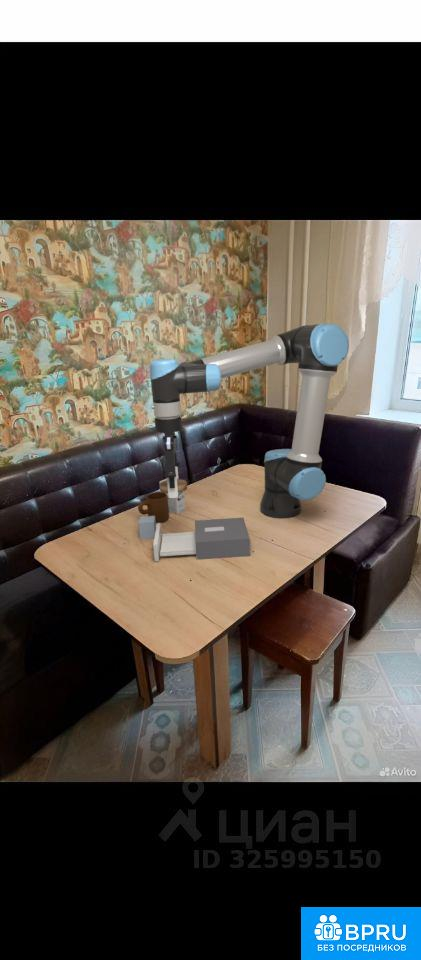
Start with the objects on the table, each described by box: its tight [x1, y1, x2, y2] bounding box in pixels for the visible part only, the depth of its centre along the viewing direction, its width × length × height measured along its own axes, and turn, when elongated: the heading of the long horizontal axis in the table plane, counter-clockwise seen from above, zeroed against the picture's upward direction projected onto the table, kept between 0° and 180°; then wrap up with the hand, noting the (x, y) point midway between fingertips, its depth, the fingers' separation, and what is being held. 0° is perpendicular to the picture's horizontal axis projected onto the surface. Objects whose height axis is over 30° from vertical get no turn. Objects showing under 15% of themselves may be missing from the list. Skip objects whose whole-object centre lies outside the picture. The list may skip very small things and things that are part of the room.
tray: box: [152, 523, 196, 562], centre depth 127 cm, size 16×15×6 cm
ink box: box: [159, 477, 186, 515], centre depth 155 cm, size 8×5×12 cm, turn 52°
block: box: [138, 515, 157, 540], centre depth 136 cm, size 5×5×6 cm
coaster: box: [159, 478, 188, 493], centre depth 121 cm, size 8×8×2 cm
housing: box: [194, 517, 251, 561], centre depth 127 cm, size 16×15×6 cm
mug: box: [137, 491, 170, 524], centre depth 146 cm, size 12×8×9 cm, turn 134°
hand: (174, 492), depth 122 cm, fingers closed on coaster, 8 cm apart
